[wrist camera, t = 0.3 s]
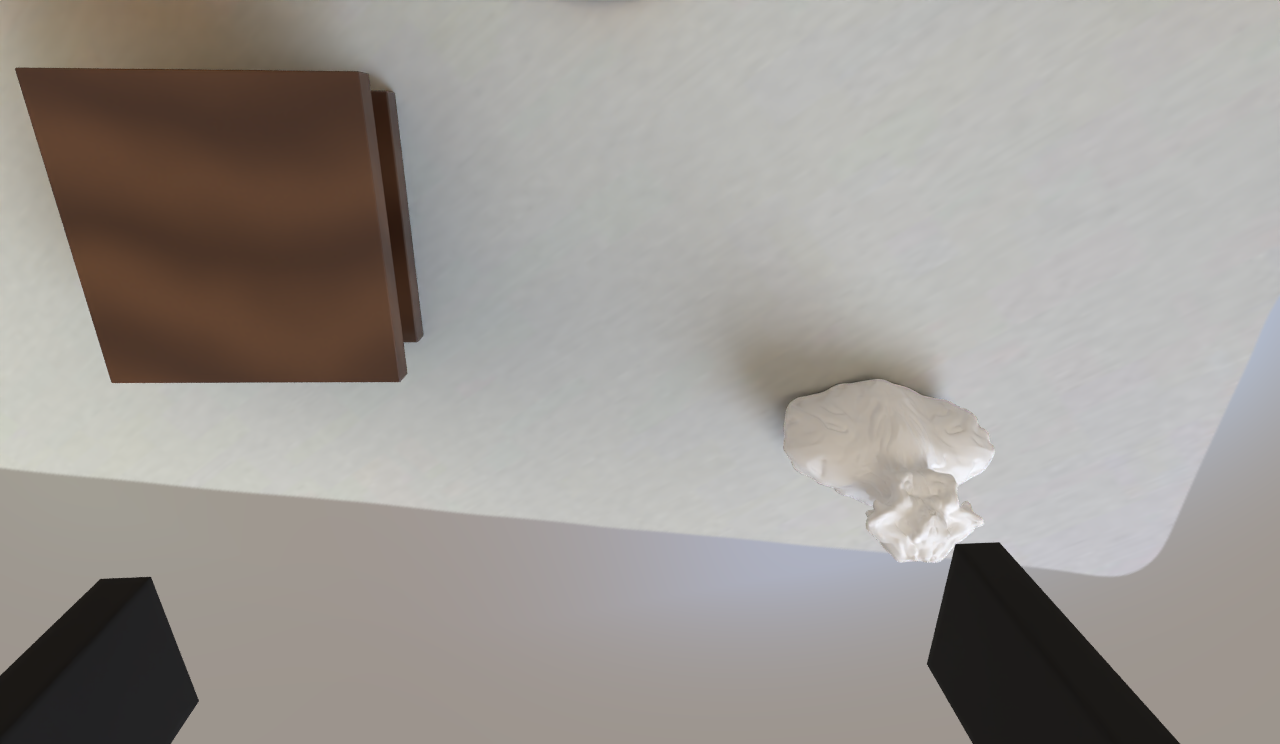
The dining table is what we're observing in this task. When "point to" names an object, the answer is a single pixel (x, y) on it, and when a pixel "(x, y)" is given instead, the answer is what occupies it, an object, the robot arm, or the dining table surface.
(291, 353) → the stand
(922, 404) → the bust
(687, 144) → the dining table surface
